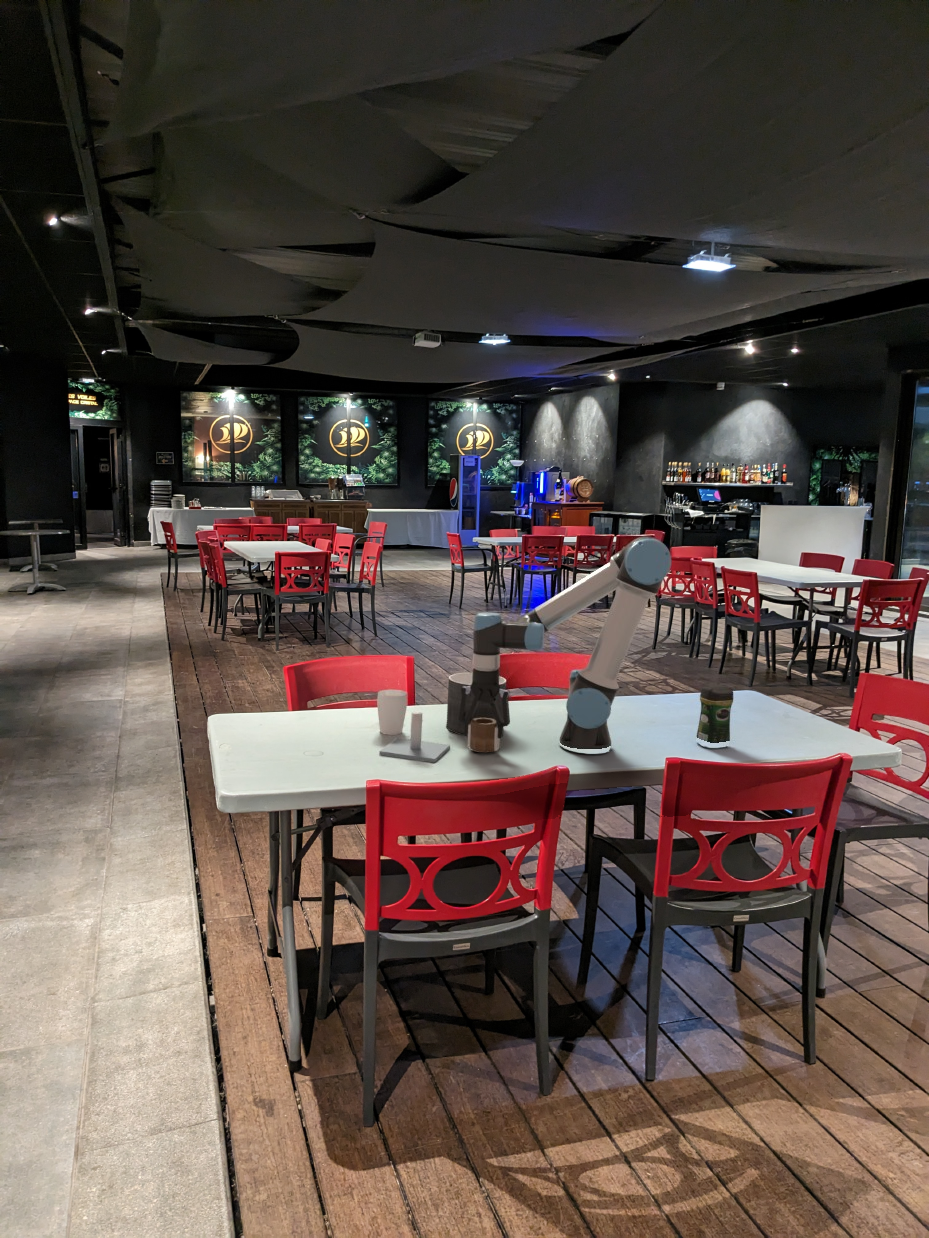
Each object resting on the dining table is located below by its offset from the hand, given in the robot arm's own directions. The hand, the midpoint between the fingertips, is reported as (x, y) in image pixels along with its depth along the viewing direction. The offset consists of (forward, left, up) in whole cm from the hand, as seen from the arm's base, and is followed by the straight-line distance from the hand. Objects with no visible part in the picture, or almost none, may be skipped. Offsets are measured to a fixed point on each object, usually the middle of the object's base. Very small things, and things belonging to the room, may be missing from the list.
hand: (483, 747), depth 241 cm
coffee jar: (-62, -36, -1) cm, 72 cm away
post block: (+18, +8, -1) cm, 19 cm away
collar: (0, 0, 0) cm, 0 cm away
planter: (+9, -22, -1) cm, 24 cm away
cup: (+31, -7, -1) cm, 31 cm away
